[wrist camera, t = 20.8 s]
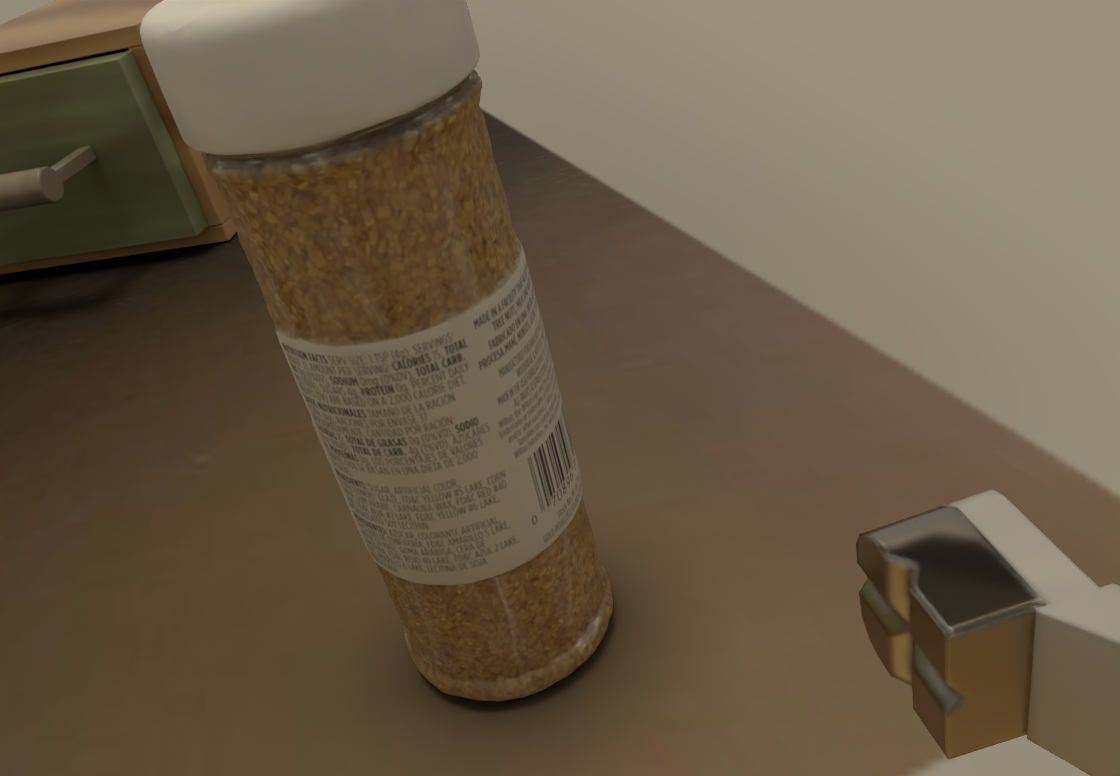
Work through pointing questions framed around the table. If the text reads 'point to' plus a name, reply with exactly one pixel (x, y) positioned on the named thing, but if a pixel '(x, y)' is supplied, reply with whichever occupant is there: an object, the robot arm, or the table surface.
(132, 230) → the drawer
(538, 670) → the sprinkles bottle
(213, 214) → the cabinet
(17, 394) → the table surface
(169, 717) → the table surface
